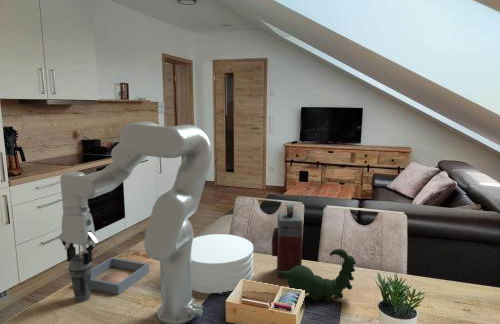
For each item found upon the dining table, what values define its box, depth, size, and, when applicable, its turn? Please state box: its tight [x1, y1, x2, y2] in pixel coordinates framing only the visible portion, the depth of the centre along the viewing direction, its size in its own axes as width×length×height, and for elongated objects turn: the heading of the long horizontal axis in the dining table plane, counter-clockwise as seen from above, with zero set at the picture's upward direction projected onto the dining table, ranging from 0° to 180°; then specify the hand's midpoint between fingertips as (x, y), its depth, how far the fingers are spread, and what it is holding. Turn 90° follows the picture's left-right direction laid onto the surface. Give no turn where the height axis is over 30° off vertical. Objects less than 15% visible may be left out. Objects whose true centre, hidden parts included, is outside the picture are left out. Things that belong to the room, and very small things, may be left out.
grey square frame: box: [91, 256, 150, 295], centre depth 136 cm, size 18×18×4 cm
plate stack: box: [191, 233, 254, 295], centre depth 139 cm, size 28×28×12 cm
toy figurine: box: [279, 248, 357, 303], centre depth 123 cm, size 9×19×25 cm
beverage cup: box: [67, 245, 93, 303], centre depth 121 cm, size 7×7×20 cm
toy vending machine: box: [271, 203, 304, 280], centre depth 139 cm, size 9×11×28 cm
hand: (79, 260), depth 121 cm, fingers closed on beverage cup, 6 cm apart
